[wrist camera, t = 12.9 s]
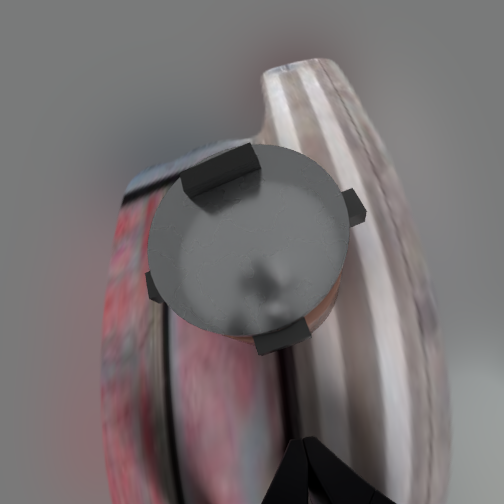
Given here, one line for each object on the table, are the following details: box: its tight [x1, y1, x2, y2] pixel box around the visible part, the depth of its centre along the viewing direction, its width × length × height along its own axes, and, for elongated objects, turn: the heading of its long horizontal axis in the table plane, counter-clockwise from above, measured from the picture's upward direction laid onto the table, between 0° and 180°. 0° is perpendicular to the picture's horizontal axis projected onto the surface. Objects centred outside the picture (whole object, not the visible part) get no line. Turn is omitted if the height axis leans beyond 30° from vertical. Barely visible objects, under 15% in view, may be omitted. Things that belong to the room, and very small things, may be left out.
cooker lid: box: [148, 143, 349, 337], centre depth 16 cm, size 12×12×2 cm
